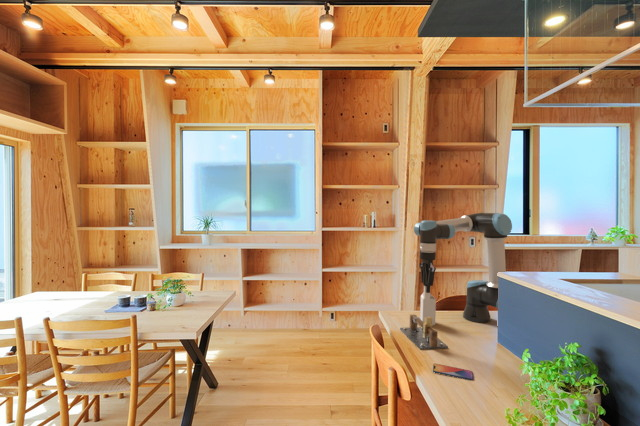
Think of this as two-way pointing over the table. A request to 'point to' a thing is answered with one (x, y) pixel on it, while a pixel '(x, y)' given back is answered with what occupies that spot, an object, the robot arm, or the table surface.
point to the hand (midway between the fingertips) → (426, 298)
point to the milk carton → (428, 308)
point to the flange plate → (421, 338)
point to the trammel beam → (416, 320)
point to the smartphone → (453, 371)
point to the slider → (427, 324)
